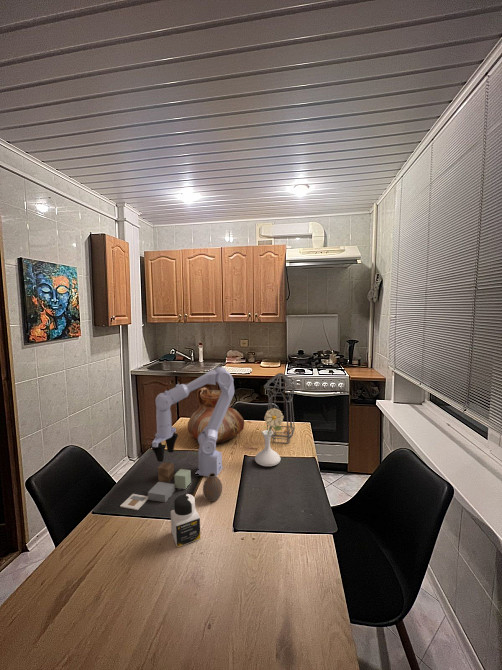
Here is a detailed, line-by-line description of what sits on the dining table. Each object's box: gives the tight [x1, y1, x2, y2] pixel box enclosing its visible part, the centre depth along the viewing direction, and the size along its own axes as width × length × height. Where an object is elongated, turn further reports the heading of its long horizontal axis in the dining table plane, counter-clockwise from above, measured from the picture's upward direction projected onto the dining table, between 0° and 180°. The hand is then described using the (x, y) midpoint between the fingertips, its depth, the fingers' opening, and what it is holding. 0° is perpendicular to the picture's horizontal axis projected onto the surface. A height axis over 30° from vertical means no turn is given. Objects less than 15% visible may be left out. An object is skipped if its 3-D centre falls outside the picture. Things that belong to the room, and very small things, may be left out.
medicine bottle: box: [170, 493, 201, 548], centre depth 90 cm, size 7×7×12 cm
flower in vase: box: [254, 407, 284, 467], centre depth 132 cm, size 13×11×25 cm
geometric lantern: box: [263, 372, 297, 444], centre depth 155 cm, size 16×16×35 cm
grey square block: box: [147, 481, 176, 503], centre depth 111 cm, size 7×7×3 cm
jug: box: [187, 387, 245, 444], centre depth 160 cm, size 30×30×25 cm
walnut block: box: [157, 462, 175, 483], centre depth 121 cm, size 4×4×6 cm
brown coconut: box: [202, 473, 223, 502], centre depth 109 cm, size 7×7×9 cm
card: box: [119, 493, 149, 511], centre depth 107 cm, size 7×7×1 cm
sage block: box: [174, 468, 192, 490], centre depth 116 cm, size 4×4×6 cm
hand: (165, 456), depth 121 cm, fingers open, 7 cm apart
